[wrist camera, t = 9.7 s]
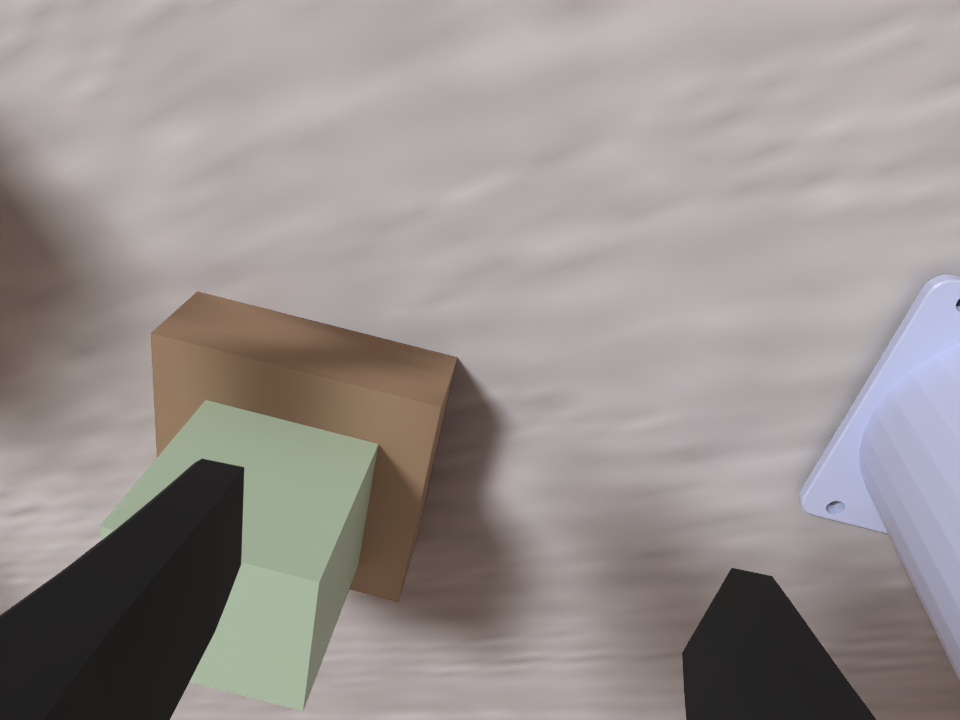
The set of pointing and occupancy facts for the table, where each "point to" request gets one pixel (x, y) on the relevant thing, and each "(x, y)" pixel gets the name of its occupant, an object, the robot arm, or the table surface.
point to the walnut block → (315, 404)
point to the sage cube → (274, 543)
